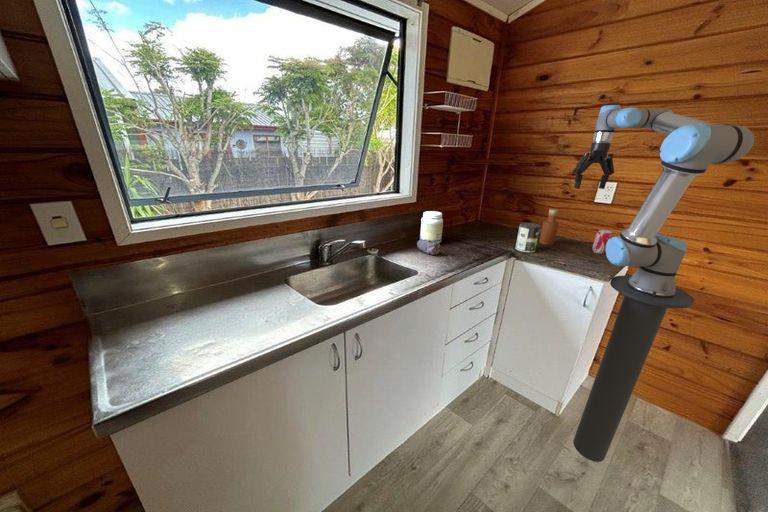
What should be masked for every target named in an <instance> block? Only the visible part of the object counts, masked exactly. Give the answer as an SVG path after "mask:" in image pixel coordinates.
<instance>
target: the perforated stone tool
mask: <svg viewBox="0 0 768 512" xmlns="http://www.w3.org/2000/svg"><path fill="white" fill-rule="evenodd" d="M416 246H417V248H418V249H419V250H420V252H421V251H422V252H423V253H425V254H428V255H429V254H430V255H431V256H435V255H438V254H440V253H441V244H440V243H437V242H434V241H431V240H426V239H421V240H420V239H418V240H417V242H416Z"/></svg>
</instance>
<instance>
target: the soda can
mask: <svg viewBox="0 0 768 512" xmlns="http://www.w3.org/2000/svg"><path fill="white" fill-rule="evenodd" d="M612 232H613V231H610V230H608V229H607V230H606V229H598V231H597V232H596V234H595V237H594V239H593V243H592V247H591V251H592V252H593V253H594V254H598V255H606V244H607V241H608V240H609V239H610V238H612V237H613V234H612Z"/></svg>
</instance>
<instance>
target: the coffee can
mask: <svg viewBox="0 0 768 512" xmlns="http://www.w3.org/2000/svg"><path fill="white" fill-rule="evenodd" d="M541 229H542V226H541V224H538V223H534V222H527V221H526V222H525V221H524V222H520V223H519V227H518V232H517V238H516V243H515V247H514V248H515V250H516V251H518V252H522V253H529V254H530V253H535V252H536V248H537V244H538V240H539V237H540V236H539V235H540V231H541Z"/></svg>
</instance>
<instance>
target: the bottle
mask: <svg viewBox="0 0 768 512" xmlns="http://www.w3.org/2000/svg"><path fill="white" fill-rule="evenodd" d="M557 217H558V215H557V216H553V215H549V214H548V217H547V219H544V220H543V223H542V226H541V230H540V231H541V232H540V236H539V239H538V240H539V241H538V243H539V244H542V245H546V246H553V245H555V243H556V242H555V241H556V237H557V233H558V228H559V225H560V222H559V221H557Z"/></svg>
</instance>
